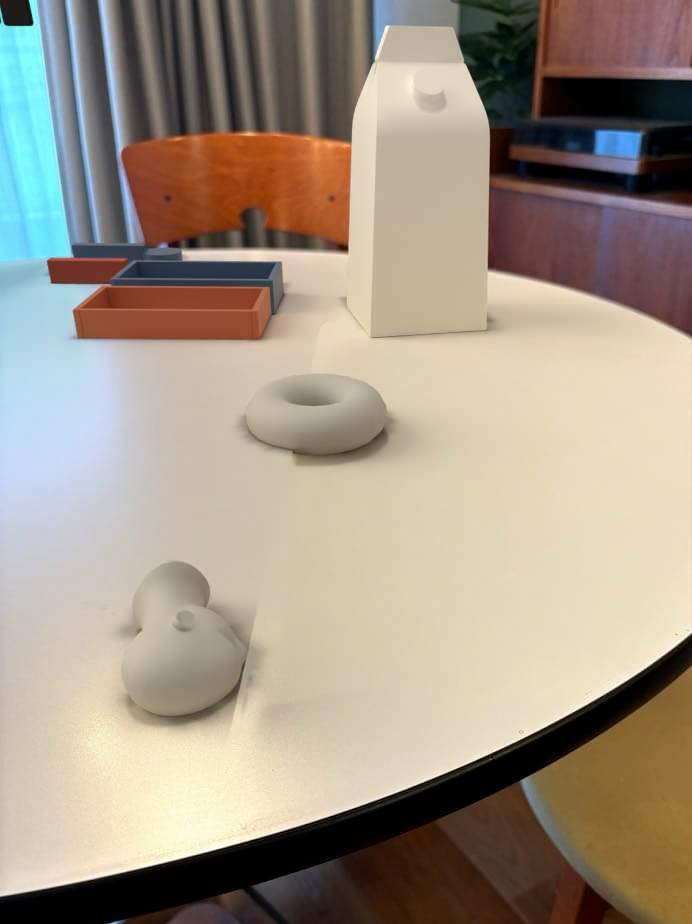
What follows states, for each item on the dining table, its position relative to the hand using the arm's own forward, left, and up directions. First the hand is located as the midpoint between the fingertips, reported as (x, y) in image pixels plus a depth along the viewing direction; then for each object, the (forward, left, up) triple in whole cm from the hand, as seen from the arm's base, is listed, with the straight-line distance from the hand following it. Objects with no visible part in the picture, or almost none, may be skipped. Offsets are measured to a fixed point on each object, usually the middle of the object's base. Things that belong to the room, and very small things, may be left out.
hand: (3, 25), depth 89 cm
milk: (+44, -20, -26) cm, 55 cm away
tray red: (+21, -26, -26) cm, 43 cm away
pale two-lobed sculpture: (+33, -78, -26) cm, 88 cm away
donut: (+36, -51, -26) cm, 68 cm away
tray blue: (+21, -14, -26) cm, 36 cm away
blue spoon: (+9, +4, -26) cm, 28 cm away
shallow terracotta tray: (+9, -5, -26) cm, 28 cm away
